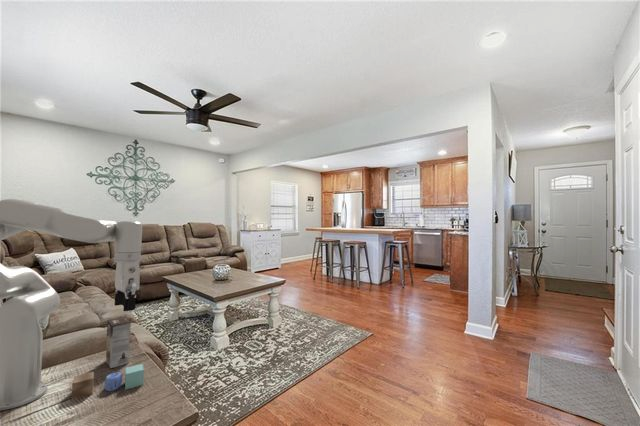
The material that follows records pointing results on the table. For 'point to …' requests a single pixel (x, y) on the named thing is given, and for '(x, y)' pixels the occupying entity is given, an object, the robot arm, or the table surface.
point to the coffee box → (118, 341)
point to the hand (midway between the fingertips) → (124, 307)
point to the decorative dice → (113, 381)
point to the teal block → (134, 376)
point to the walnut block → (82, 385)
